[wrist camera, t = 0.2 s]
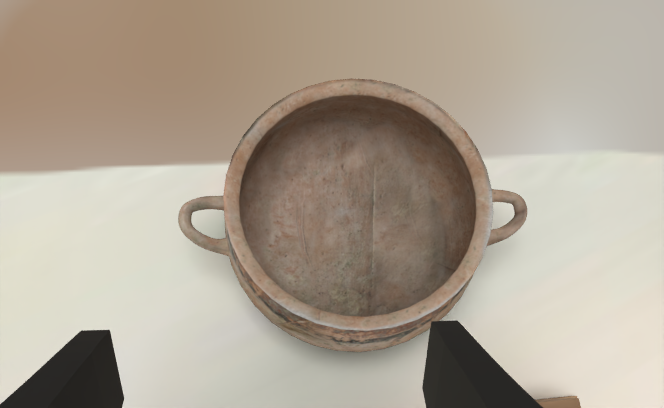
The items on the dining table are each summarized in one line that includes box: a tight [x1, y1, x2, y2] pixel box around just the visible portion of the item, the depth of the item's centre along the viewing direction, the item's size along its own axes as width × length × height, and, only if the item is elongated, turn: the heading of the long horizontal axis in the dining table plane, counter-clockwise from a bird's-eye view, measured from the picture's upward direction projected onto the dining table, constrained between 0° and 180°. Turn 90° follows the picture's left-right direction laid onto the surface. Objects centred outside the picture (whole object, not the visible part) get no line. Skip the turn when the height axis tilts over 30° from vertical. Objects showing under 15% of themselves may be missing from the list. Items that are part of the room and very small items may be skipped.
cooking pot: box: [178, 79, 527, 352], centre depth 40 cm, size 25×19×12 cm
